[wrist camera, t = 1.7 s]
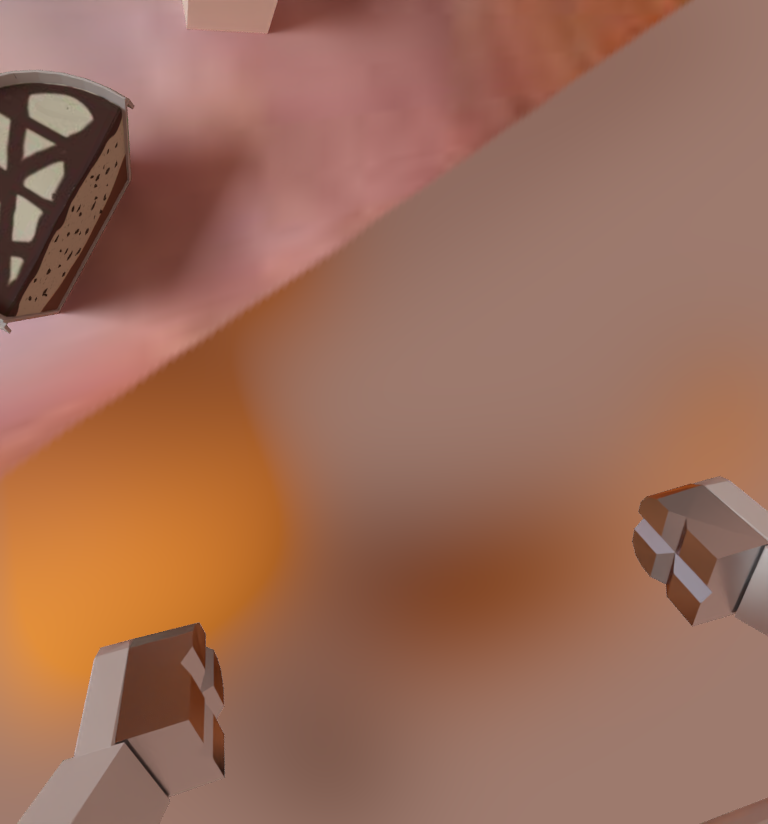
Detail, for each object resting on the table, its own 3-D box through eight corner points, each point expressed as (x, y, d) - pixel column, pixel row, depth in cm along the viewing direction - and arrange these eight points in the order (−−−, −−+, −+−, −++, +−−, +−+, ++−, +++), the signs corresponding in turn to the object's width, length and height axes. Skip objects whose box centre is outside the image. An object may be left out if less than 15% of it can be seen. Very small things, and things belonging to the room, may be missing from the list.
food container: (36, 93, 31) (-21, -14, 22) (142, 158, 33) (131, 87, 24) (-70, 282, 30) (-176, 255, 21) (46, 335, 33) (-4, 333, 23)
